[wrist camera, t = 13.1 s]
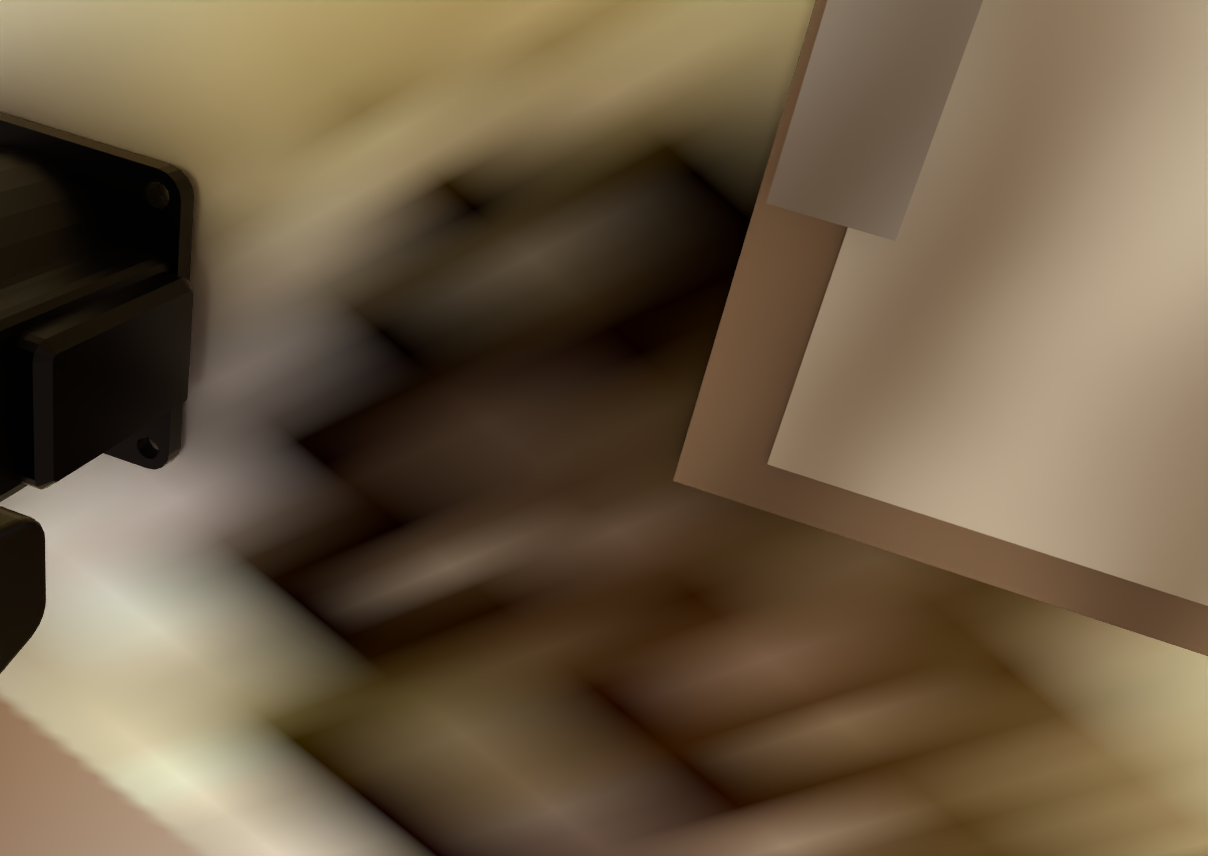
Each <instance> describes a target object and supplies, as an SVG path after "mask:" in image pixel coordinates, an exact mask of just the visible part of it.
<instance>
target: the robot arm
mask: <svg viewBox="0 0 1208 856" xmlns="http://www.w3.org/2000/svg"><path fill="white" fill-rule="evenodd" d="M159 182H160V183H161V184H163V185H164V186H165V187H166V189H167V190H168V193H169V198H170V199H169V202H166V201H164V200H163V199H162V197H161V196H160V194H159V190H158V185H159ZM193 202H194V196H193V188H192V186H191V184H190V181H189V179H188V177H187V176H186V175H185V174H184V173H183V172H182V171H181V170H180V169H178V168H176V167H174V166H172V165H170V164H167V163H163V162H160V161H157V160H154V159H151V158H147V157H144V156H141V155H138V154H134V153H131V152H128V151H125V150H121V149H118V148H115V147H112V146H108V145H105V144H102V143H99V142H95V141H92V140H89V139H86V138H82V137H79V136H76V135H73V134H69V133H66V132H63V131H60V130H56V129H53V128H50V127H47V126H43V125H40V124H37V123H34V122H30V121H27V120H24V119H21V118H17V117H14V116H11V115H8V114H4V113H1V112H0V502H1V501H3V500H4V499H6V498H8V497H9V496H11V495H13V494H14V493H16V492H18V491H19V490H21V489H23V488H24V487H26V486H27V485H30V486H33V487H36V488H38V489H44V488H48V487H49V486H51V485H53V484H54V483H56V482H57V481H59V480H61V479H62V478H64V477H65V476H67V475H69V474H70V473H72V472H73V471H75V470H77V469H78V468H80V467H81V466H83V465H85V464H86V463H88V462H89V461H91V460H93V459H94V458H96V457H97V456H99V455H101V454H102V453H105V454H108V455H111V456H113V457H116V458H119V459H122V460H125V461H128V462H131V463H134V464H136V465H139V466H142V467H145V468H149V469H158V468H162V467H163V466H165V465H166V464H168V463H169V462H171V461H172V460H174V459H175V457H176V456H177V455H178V454H179V451H180V445H181V427H182V408H183V403H184V402H185V401H186V399H187V394H188V376H189V358H190V340H191V322H192V304H193V292H192V289H191V286H190V283H189V277H190V258H191V239H192V221H193ZM149 438H150V439H152V440H154V442H155V443H156V445H157V446H158V450H157V449H155V448H154V447H153V446H152V445H151V443H150V441H149ZM45 604H46V575H45V535H44V531H43V529H42V527H41V525H40V523H39V522H37V521H36V520H35V519H33V518H31V517H28V516H26V515H23V514H20V513H17V512H15V511H12V510H9V509H6V508H4V507H1V506H0V674H1V672H2V671H3V670H4V669H5V668H6V666H7V665H8V664H9V663H10V662H11V661H12V659H13V658H14V657H15V656H16V655H17V653H18V652H19V651H20V650H21V649H22V647H23V646H24V645H25V644H26V643H27V642H28V640H29V639H30V638H31V637H32V635H33V634H34V632H35V631H36V629H37V627H38V626H39V624H40V622H41V619H42V617H43V614H44V610H45Z"/></svg>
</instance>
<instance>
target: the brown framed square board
mask: <svg viewBox="0 0 1208 856" xmlns="http://www.w3.org/2000/svg"><path fill="white" fill-rule="evenodd" d="M673 481H675V482H678V483H681V484H684V485H687V486H690V487H693V488H696V489H699V490H702V491H706V492H709V493H712V494H715V495H718V496H721V497H724V498H727V499H730V500H733V501H736V502H739V503H742V504H745V505H748V506H751V507H754V508H757V509H761V510H764V511H767V512H770V513H773V514H776V515H779V516H782V517H785V518H788V519H791V520H794V521H797V522H800V523H803V524H806V525H809V526H812V527H815V528H819V529H822V530H825V531H828V532H831V533H834V534H837V535H840V536H843V537H846V538H849V539H852V540H855V541H858V542H861V543H864V544H867V545H870V546H873V547H877V548H880V549H883V550H886V551H889V552H892V553H895V554H898V555H901V556H904V557H907V558H910V559H913V560H916V561H919V562H922V563H925V564H928V565H931V566H935V567H938V568H941V569H944V570H947V571H950V572H953V573H956V574H959V575H962V576H965V577H968V578H971V579H974V580H977V581H980V582H983V583H986V584H990V585H993V586H996V587H999V588H1002V589H1005V590H1008V591H1011V592H1014V593H1017V594H1020V595H1023V596H1026V597H1029V598H1032V599H1035V600H1038V601H1041V602H1044V603H1048V604H1051V605H1054V606H1057V607H1060V608H1063V609H1066V610H1069V611H1072V612H1075V613H1078V614H1081V615H1084V616H1087V617H1090V618H1093V619H1096V620H1099V621H1102V622H1106V623H1109V624H1112V625H1115V626H1118V627H1121V628H1124V629H1127V630H1130V631H1133V632H1136V633H1139V634H1142V635H1145V636H1148V637H1151V638H1154V639H1157V640H1160V641H1164V642H1167V643H1170V644H1173V645H1176V646H1179V647H1182V648H1185V649H1188V650H1191V651H1194V652H1197V653H1200V654H1203V655H1206V656H1208V0H816V2H815V6H814V9H813V12H812V16H811V19H810V22H809V26H808V29H807V32H806V36H805V39H804V43H803V46H802V49H801V53H800V56H799V59H798V63H797V66H796V69H795V73H794V76H793V80H792V83H791V86H790V90H789V93H788V96H787V100H786V103H785V106H784V110H783V113H782V116H781V120H780V123H779V127H778V130H777V133H776V137H775V140H774V143H773V147H772V150H771V153H770V157H769V160H768V163H767V167H766V170H765V174H764V177H763V180H762V184H761V187H760V190H759V194H758V197H757V200H756V204H755V207H754V210H753V214H752V217H751V221H750V224H749V227H748V231H747V234H746V237H745V241H744V244H743V247H742V251H741V254H740V258H739V261H738V264H737V268H736V271H735V274H734V278H733V281H732V284H731V288H730V291H729V294H728V298H727V301H726V305H725V308H724V311H723V315H722V318H721V321H720V325H719V328H718V331H717V335H716V338H715V341H714V345H713V348H712V352H711V355H710V358H709V362H708V365H707V368H706V372H705V375H704V378H703V382H702V385H701V389H700V392H699V395H698V399H697V402H696V405H695V409H694V412H693V415H692V419H691V422H690V425H689V429H688V432H687V436H686V439H685V442H684V446H683V449H682V452H681V456H680V459H679V462H678V466H677V469H676V472H675V476H674V479H673Z"/></svg>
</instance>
